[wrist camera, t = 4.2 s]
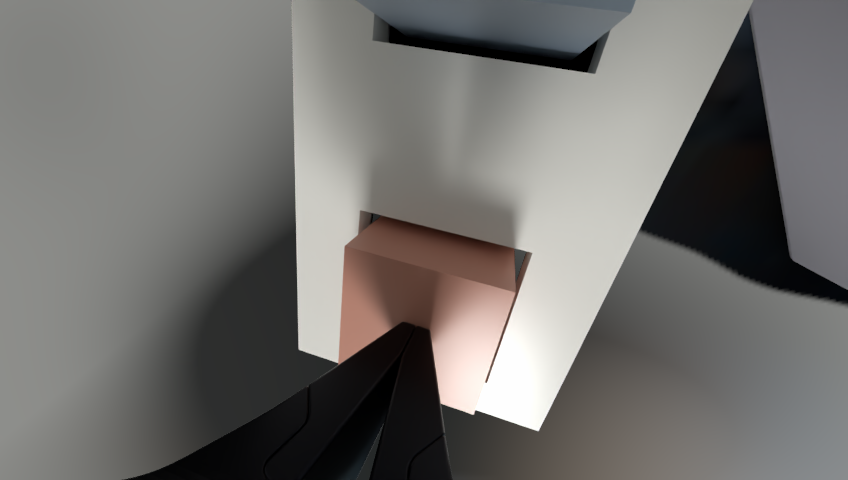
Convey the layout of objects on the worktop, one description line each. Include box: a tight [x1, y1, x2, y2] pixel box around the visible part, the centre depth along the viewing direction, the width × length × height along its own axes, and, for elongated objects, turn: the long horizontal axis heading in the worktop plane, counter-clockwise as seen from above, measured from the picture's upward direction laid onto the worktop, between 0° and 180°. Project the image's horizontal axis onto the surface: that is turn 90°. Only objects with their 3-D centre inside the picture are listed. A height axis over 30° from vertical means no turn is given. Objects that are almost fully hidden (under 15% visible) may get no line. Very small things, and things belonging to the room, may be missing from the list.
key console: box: [291, 0, 753, 431], centre depth 10 cm, size 18×10×4 cm, turn 171°
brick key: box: [338, 216, 516, 414], centre depth 11 cm, size 5×5×4 cm
